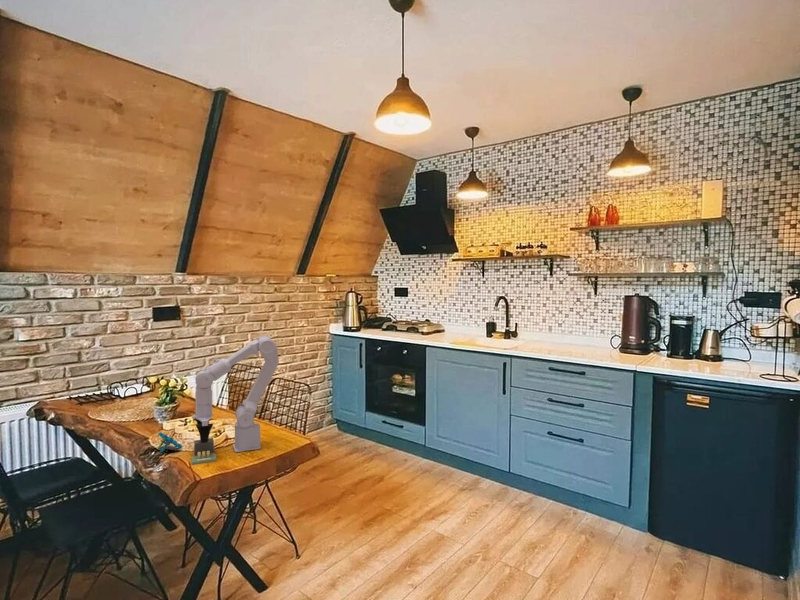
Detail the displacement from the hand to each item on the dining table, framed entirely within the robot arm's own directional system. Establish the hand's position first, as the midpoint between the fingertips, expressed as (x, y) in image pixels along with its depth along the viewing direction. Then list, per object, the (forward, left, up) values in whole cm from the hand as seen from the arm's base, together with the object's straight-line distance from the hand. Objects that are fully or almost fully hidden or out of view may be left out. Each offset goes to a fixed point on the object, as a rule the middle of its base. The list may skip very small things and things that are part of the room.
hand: (203, 438), depth 173 cm
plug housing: (0, 0, -5) cm, 5 cm away
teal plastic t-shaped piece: (+11, -8, -6) cm, 15 cm away
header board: (0, +7, -5) cm, 9 cm away
